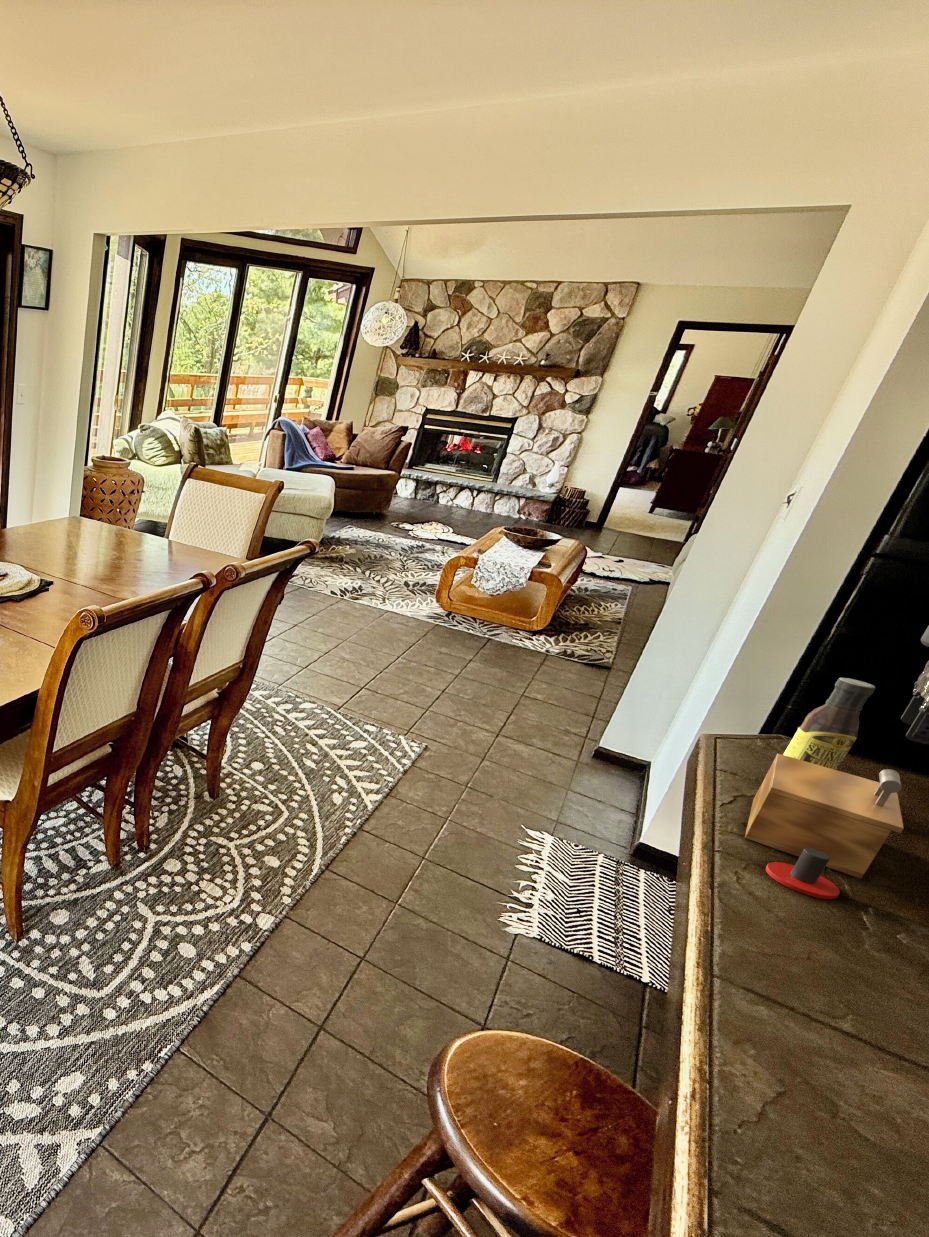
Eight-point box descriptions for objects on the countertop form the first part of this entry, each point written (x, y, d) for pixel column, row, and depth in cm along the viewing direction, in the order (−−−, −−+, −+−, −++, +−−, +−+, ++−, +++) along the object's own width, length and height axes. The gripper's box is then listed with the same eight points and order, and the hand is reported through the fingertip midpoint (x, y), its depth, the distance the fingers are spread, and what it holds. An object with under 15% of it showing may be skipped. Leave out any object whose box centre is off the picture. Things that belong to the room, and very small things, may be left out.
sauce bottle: (782, 795, 114) (842, 685, 106) (758, 777, 119) (813, 671, 112) (832, 804, 112) (896, 692, 105) (805, 785, 118) (864, 678, 110)
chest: (858, 834, 104) (885, 789, 101) (861, 879, 93) (891, 830, 90) (753, 800, 112) (775, 758, 109) (744, 837, 101) (768, 792, 98)
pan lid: (828, 879, 93) (845, 851, 91) (845, 906, 88) (863, 877, 86) (759, 859, 96) (775, 831, 95) (772, 884, 91) (788, 855, 89)
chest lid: (893, 791, 100) (911, 763, 99) (900, 833, 90) (920, 801, 88) (775, 757, 109) (789, 730, 107) (769, 791, 98) (784, 762, 96)
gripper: (1047, 635, 79) (965, 760, 85) (1023, 615, 88) (951, 728, 94) (945, 618, 84) (875, 736, 90) (933, 600, 93) (870, 708, 99)
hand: (914, 732), depth 92 cm, fingers open, 8 cm apart
